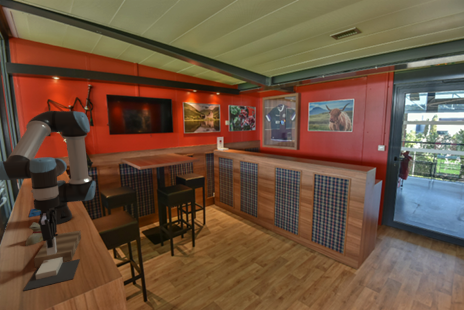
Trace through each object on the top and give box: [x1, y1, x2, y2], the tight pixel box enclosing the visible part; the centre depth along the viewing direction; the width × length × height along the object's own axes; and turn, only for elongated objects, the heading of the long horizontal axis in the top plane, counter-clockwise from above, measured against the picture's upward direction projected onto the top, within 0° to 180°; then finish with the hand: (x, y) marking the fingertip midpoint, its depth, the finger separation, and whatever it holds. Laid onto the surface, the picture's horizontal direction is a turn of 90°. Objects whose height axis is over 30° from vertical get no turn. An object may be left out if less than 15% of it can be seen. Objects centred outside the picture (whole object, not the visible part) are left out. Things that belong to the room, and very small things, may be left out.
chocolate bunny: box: [25, 222, 43, 247], centre depth 104 cm, size 6×8×10 cm
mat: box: [22, 258, 81, 292], centre depth 82 cm, size 13×14×1 cm
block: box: [36, 257, 63, 279], centre depth 84 cm, size 9×6×2 cm, turn 26°
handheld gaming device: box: [28, 208, 41, 218], centre depth 139 cm, size 8×1×15 cm
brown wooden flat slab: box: [33, 230, 82, 269], centre depth 96 cm, size 20×12×4 cm, turn 26°
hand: (52, 253), depth 86 cm, fingers closed
